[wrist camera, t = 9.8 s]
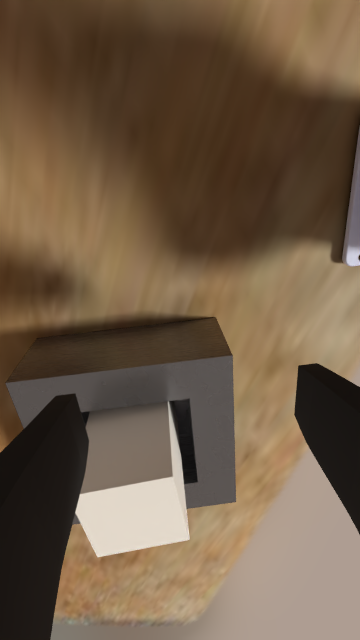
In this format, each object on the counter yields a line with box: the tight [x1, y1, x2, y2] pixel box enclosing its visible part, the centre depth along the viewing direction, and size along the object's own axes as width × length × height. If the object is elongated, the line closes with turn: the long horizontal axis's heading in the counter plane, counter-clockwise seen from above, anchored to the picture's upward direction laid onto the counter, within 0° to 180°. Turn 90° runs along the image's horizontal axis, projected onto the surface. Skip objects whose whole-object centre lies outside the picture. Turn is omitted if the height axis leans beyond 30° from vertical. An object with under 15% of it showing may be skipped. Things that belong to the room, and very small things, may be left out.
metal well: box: [6, 318, 236, 524], centre depth 20 cm, size 11×11×4 cm
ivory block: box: [75, 401, 190, 557], centre depth 17 cm, size 4×4×8 cm
